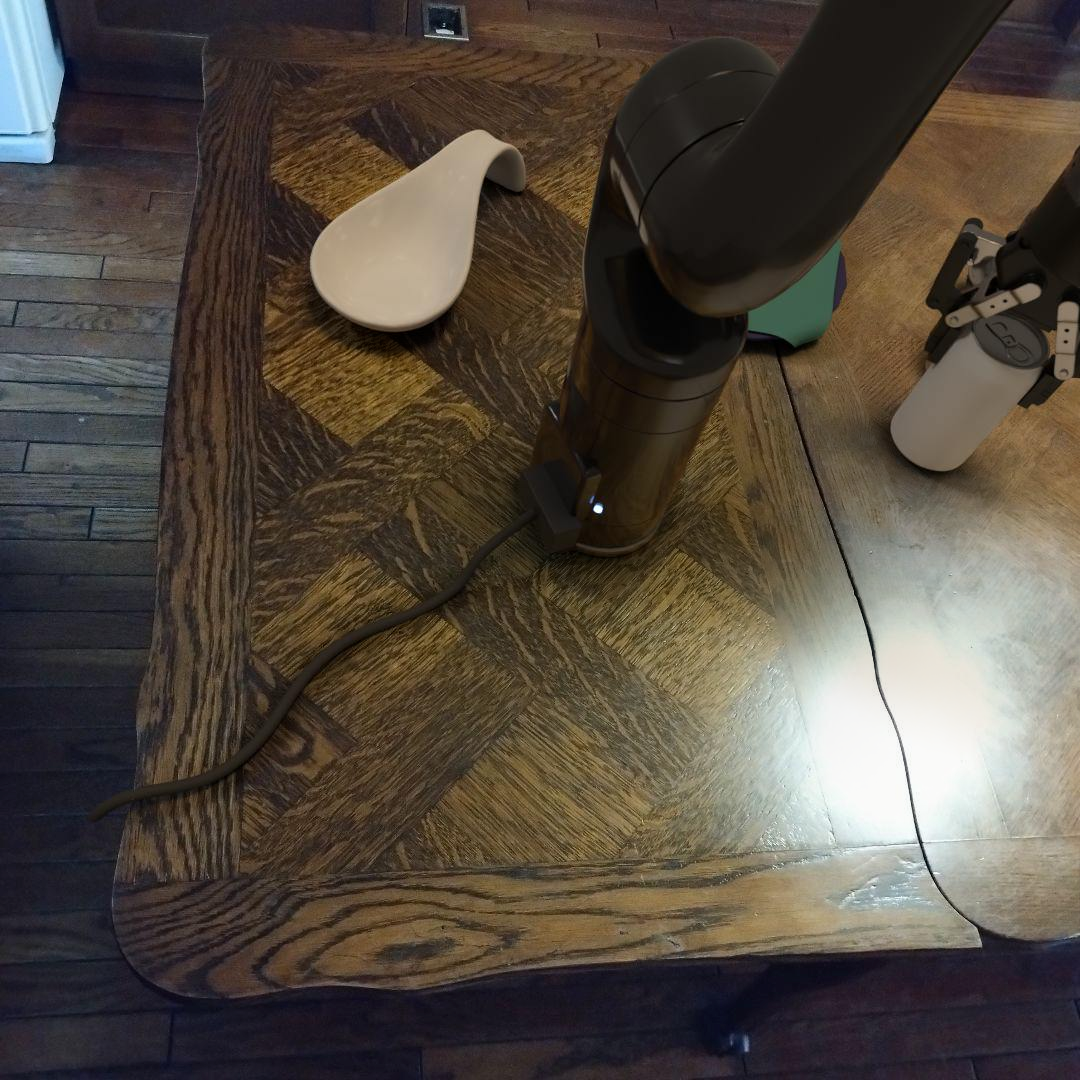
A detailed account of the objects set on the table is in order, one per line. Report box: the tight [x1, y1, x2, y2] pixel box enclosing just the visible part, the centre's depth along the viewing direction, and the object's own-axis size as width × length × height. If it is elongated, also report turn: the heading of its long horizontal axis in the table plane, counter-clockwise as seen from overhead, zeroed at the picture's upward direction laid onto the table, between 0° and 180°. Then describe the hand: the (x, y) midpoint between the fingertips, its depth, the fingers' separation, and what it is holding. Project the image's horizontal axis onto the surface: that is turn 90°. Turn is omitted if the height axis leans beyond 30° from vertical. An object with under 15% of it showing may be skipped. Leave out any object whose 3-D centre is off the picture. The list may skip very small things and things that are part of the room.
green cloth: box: [746, 237, 848, 348], centre depth 87 cm, size 20×30×2 cm, turn 165°
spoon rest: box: [309, 129, 527, 333], centre depth 78 cm, size 24×12×7 cm, turn 152°
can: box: [890, 310, 1051, 472], centre depth 73 cm, size 6×6×12 cm
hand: (979, 376), depth 71 cm, fingers closed on can, 6 cm apart
